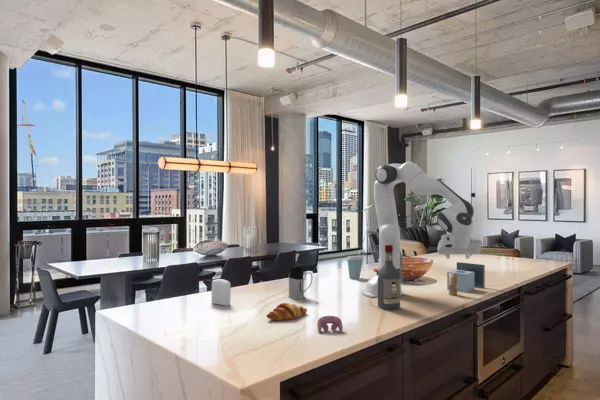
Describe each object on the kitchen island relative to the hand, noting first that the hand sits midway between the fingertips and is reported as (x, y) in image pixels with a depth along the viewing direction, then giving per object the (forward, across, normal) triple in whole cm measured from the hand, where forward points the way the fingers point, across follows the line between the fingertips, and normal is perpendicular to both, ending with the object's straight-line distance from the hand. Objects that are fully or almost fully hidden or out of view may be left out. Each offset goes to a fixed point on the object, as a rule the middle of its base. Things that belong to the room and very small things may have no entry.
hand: (457, 257), depth 219 cm
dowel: (+25, +1, +7) cm, 26 cm away
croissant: (-17, +79, +47) cm, 93 cm away
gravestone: (-6, +117, +34) cm, 122 cm away
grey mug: (+10, +81, +20) cm, 84 cm away
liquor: (+2, +35, +29) cm, 45 cm away
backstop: (+38, -8, -6) cm, 40 cm away
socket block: (+36, -6, -5) cm, 36 cm away
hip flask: (+53, +32, -22) cm, 66 cm away
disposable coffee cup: (+54, +56, -24) cm, 82 cm away
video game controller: (-28, +58, +59) cm, 88 cm away
